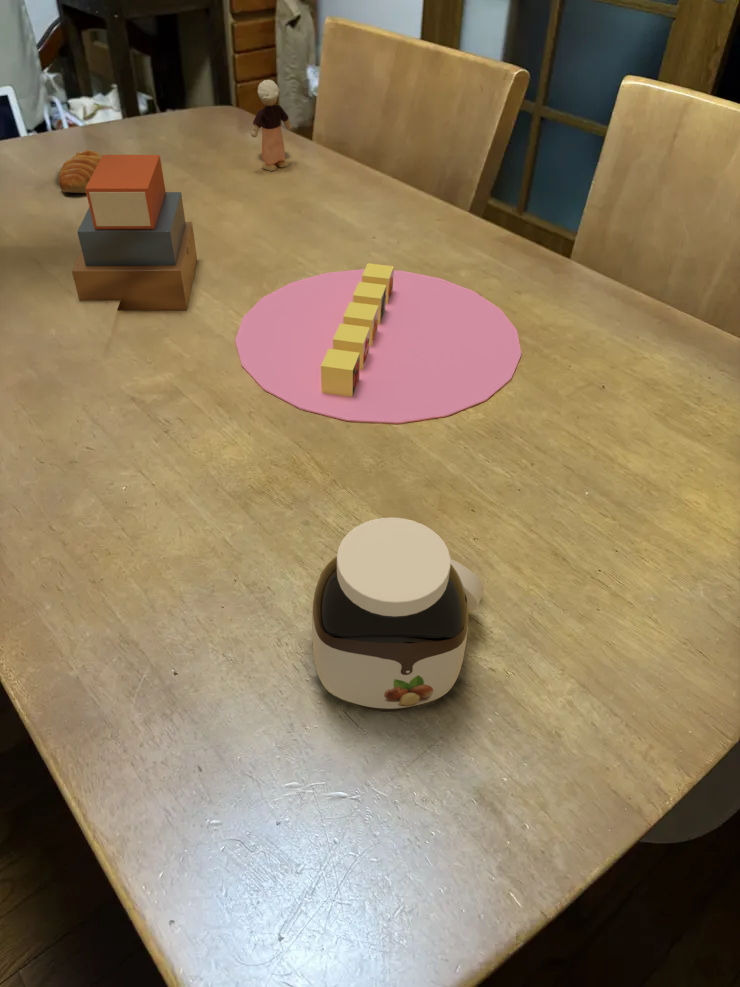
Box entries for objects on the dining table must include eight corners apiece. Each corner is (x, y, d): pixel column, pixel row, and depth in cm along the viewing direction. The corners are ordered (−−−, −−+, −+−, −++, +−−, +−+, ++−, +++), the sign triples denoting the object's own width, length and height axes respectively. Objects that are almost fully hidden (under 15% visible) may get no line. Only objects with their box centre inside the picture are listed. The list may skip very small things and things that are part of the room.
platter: (191, 398, 75) (186, 369, 73) (282, 257, 98) (280, 232, 96) (511, 445, 71) (517, 417, 69) (528, 287, 94) (533, 261, 92)
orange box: (94, 229, 82) (84, 188, 79) (110, 193, 90) (102, 154, 86) (154, 229, 83) (147, 188, 80) (166, 193, 90) (159, 154, 87)
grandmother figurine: (278, 157, 125) (274, 72, 116) (296, 163, 123) (293, 77, 114) (247, 170, 120) (240, 83, 111) (265, 176, 118) (259, 88, 110)
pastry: (94, 198, 110) (87, 172, 108) (49, 196, 111) (42, 169, 108) (115, 175, 117) (110, 149, 115) (73, 172, 118) (67, 147, 115)
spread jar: (311, 717, 50) (305, 607, 42) (319, 585, 58) (315, 472, 50) (491, 718, 50) (519, 610, 42) (473, 587, 58) (494, 475, 50)
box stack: (80, 311, 87) (61, 236, 81) (101, 259, 96) (85, 189, 90) (187, 310, 88) (176, 235, 82) (198, 259, 97) (188, 189, 91)
